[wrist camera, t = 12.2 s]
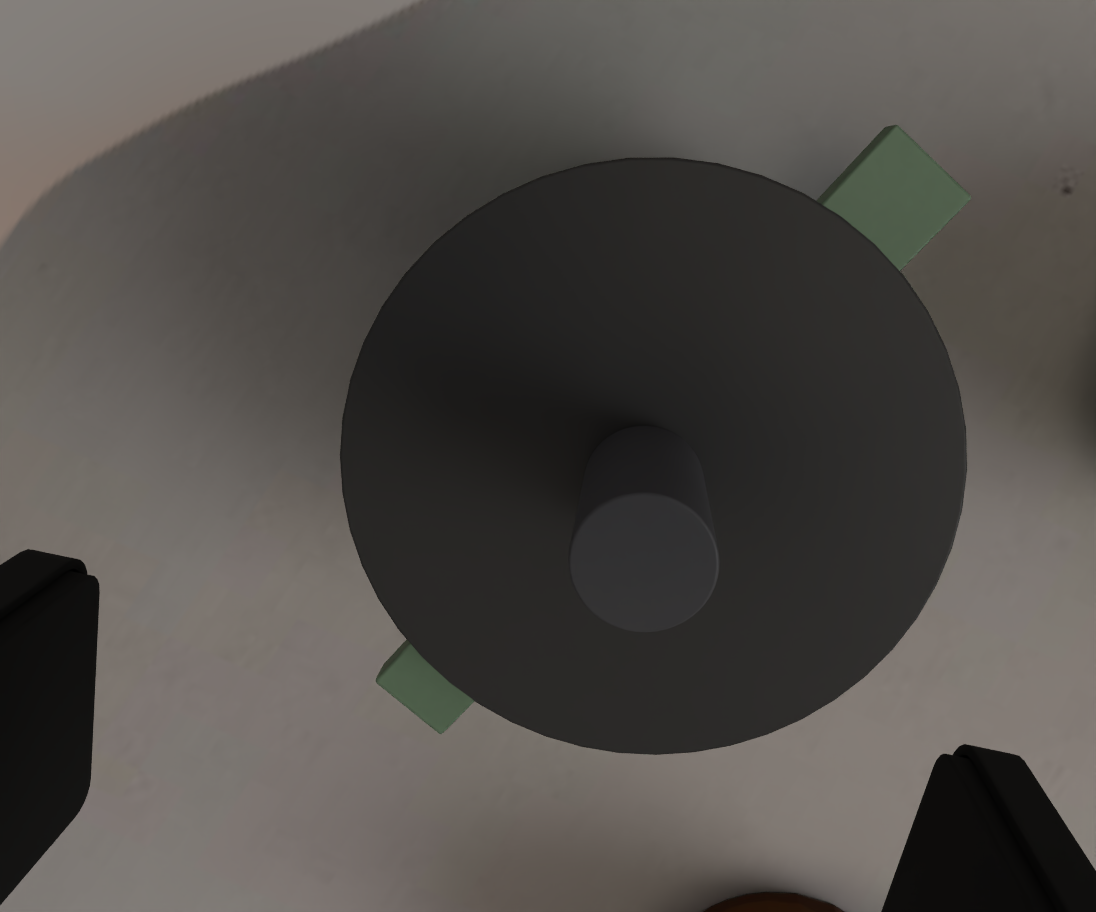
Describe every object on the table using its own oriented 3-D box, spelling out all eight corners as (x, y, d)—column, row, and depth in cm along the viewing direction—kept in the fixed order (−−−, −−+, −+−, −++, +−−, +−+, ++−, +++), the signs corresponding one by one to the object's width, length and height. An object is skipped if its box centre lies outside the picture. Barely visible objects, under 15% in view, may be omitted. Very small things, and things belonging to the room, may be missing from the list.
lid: (242, 483, 25) (116, 579, 19) (622, 13, 21) (614, -50, 15) (659, 827, 27) (663, 1013, 21) (1086, 450, 23) (1242, 547, 17)
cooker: (317, 458, 34) (198, 560, 25) (690, 9, 29) (711, -67, 20) (605, 698, 36) (591, 876, 27) (1007, 312, 31) (1161, 370, 21)
